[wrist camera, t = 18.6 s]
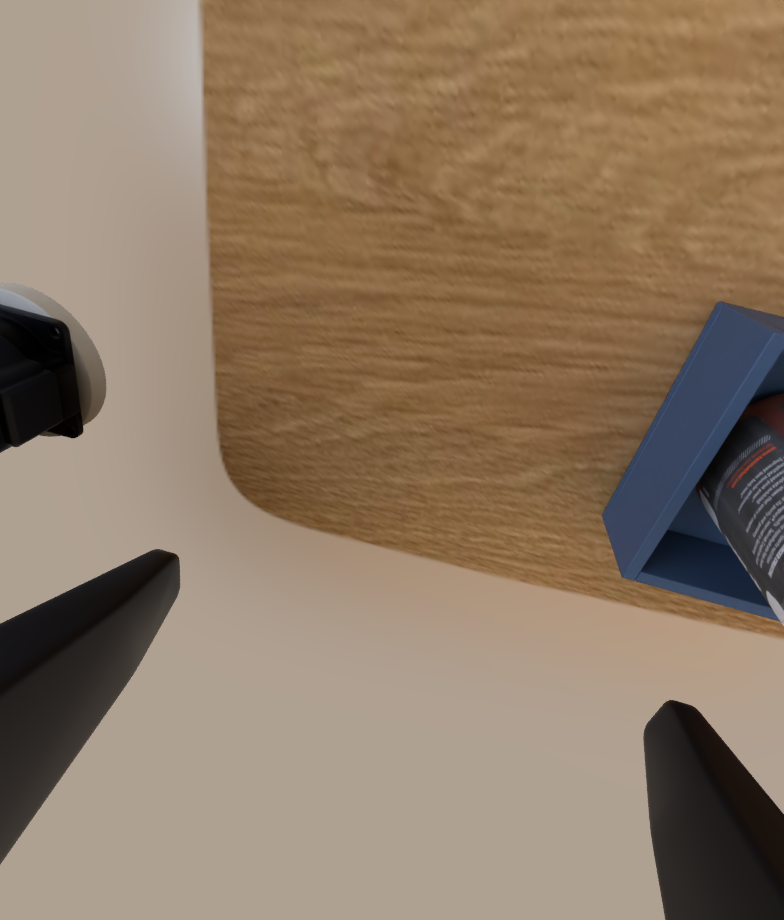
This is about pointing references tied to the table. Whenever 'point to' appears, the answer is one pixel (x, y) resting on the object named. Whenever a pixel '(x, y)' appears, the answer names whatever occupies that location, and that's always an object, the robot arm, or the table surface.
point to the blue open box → (696, 464)
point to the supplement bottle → (752, 495)
